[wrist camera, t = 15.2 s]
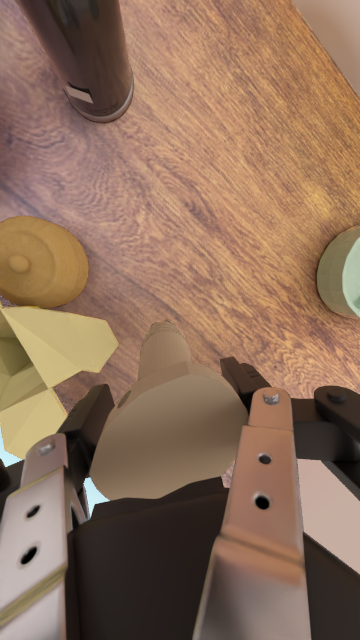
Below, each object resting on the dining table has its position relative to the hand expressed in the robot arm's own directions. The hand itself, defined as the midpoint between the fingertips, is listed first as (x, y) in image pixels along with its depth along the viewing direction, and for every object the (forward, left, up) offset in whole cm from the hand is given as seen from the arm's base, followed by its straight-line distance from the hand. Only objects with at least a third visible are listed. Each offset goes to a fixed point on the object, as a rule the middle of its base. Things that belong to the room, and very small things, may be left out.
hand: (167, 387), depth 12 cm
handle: (0, 0, -11) cm, 11 cm away
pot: (-11, -15, -25) cm, 31 cm away
